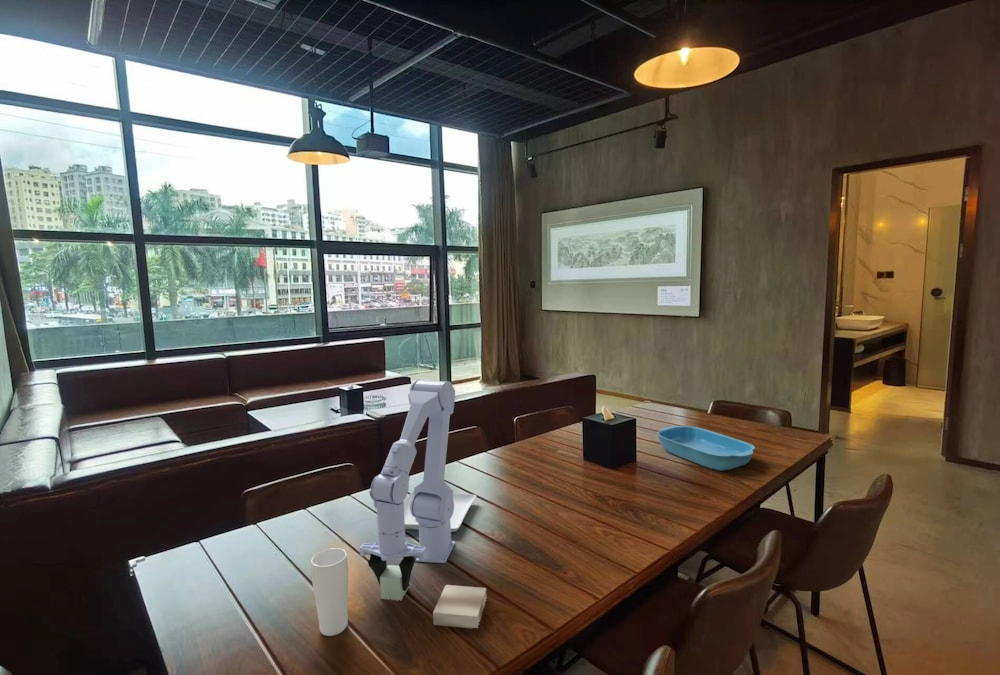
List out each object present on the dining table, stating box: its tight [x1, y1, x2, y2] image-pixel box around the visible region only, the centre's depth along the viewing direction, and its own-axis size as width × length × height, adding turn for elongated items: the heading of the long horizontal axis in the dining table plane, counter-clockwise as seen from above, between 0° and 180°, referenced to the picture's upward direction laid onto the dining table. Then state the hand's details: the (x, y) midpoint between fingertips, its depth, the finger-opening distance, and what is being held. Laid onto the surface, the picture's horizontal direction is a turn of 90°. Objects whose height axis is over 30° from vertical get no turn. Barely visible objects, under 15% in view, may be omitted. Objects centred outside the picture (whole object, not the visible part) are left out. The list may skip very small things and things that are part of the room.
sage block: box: [379, 564, 410, 601], centre depth 105 cm, size 5×5×5 cm
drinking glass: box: [310, 547, 349, 637], centre depth 94 cm, size 7×7×15 cm
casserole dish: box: [657, 425, 756, 471], centre depth 182 cm, size 37×22×7 cm, turn 28°
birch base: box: [432, 584, 488, 630], centre depth 99 cm, size 9×9×3 cm
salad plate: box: [403, 490, 477, 533], centre depth 140 cm, size 21×21×3 cm
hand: (394, 586), depth 105 cm, fingers closed on sage block, 5 cm apart
